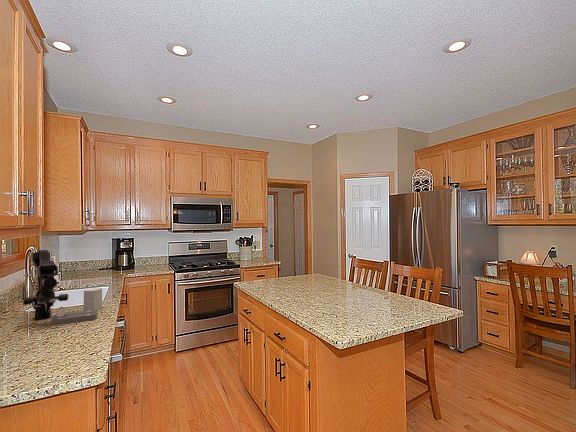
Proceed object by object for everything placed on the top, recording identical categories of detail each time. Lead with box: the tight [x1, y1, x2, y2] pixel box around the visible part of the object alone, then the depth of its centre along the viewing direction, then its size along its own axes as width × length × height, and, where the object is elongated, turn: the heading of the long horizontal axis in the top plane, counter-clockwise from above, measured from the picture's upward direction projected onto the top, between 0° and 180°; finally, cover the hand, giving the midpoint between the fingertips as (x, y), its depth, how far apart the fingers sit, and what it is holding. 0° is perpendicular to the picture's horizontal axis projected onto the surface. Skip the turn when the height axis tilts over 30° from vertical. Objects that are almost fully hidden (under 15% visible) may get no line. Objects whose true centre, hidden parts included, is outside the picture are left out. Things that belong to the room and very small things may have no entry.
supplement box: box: [83, 287, 103, 311], centre depth 194 cm, size 7×7×13 cm
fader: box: [56, 306, 66, 317], centre depth 170 cm, size 3×5×4 cm, turn 28°
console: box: [50, 310, 98, 326], centre depth 173 cm, size 20×12×3 cm, turn 118°
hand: (46, 314), depth 167 cm, fingers closed
